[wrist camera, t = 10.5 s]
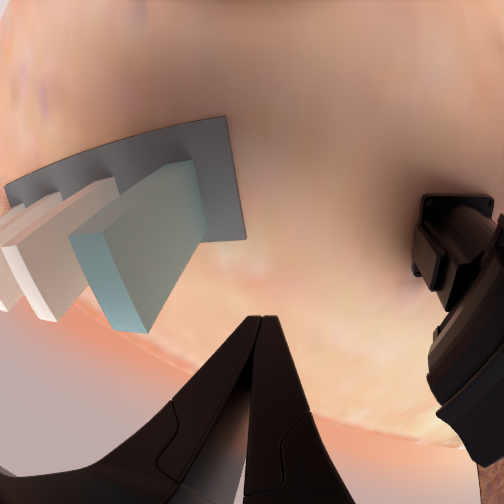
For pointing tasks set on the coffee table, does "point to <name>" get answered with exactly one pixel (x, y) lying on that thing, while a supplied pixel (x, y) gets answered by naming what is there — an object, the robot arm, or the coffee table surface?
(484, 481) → the book
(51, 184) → the mat
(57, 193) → the ivory domino
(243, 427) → the robot arm
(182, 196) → the teal domino
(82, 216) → the ivory domino
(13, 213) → the ivory end domino
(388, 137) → the coffee table surface
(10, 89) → the coffee table surface
